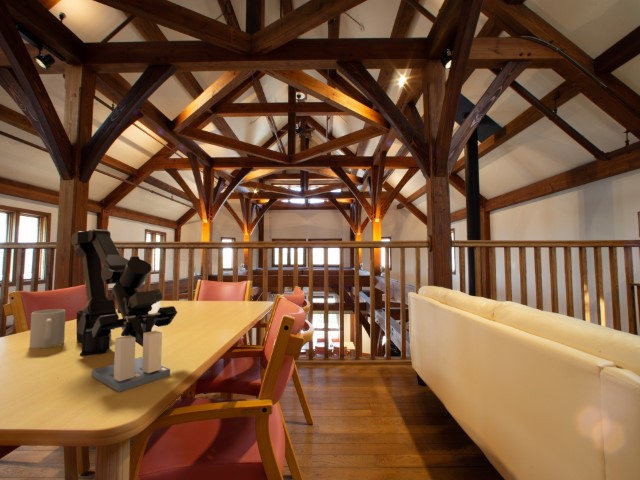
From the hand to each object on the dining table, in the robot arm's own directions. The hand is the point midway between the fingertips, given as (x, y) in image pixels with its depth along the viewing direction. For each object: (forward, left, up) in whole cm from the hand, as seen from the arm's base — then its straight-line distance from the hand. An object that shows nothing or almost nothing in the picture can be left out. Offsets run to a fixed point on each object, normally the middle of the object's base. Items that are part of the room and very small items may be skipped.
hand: (148, 348), depth 75 cm
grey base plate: (-4, +2, -7) cm, 8 cm away
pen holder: (-20, +44, -7) cm, 49 cm away
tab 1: (-5, -4, -5) cm, 8 cm away
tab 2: (+1, -2, -5) cm, 5 cm away
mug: (-31, +40, -7) cm, 51 cm away
